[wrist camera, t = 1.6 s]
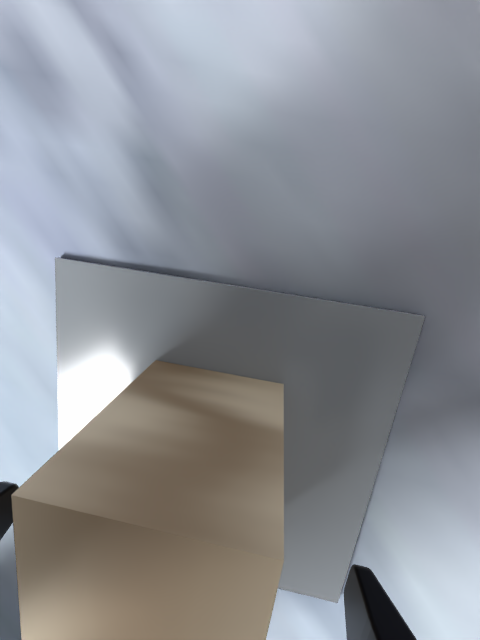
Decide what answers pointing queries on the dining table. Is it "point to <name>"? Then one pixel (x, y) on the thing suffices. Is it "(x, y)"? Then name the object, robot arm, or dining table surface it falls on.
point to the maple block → (158, 515)
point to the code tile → (259, 363)
